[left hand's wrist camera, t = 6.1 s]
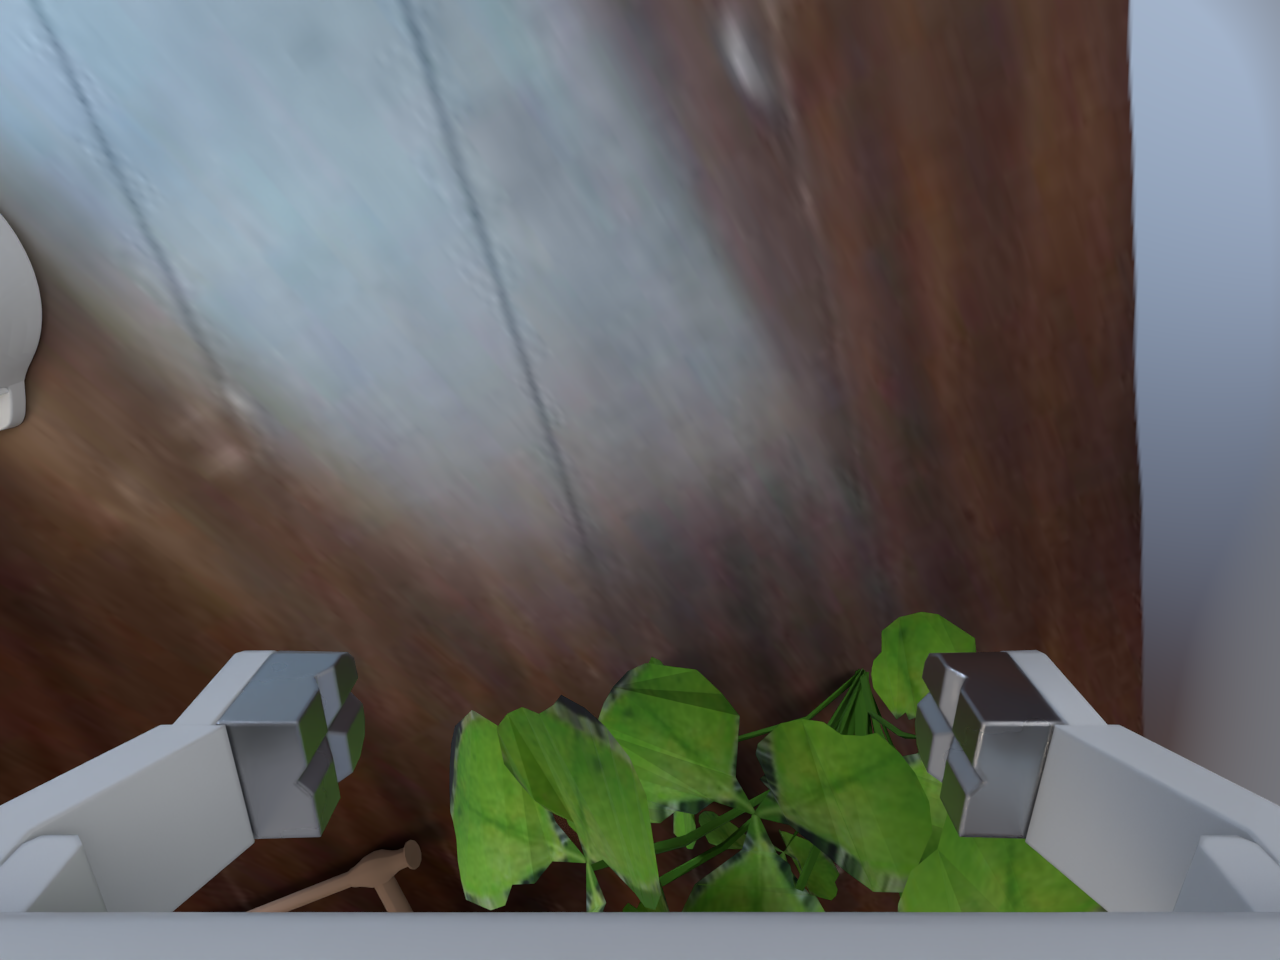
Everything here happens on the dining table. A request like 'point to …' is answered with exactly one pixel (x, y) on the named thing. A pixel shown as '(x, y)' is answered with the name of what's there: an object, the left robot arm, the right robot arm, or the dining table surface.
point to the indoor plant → (735, 798)
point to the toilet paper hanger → (360, 881)
